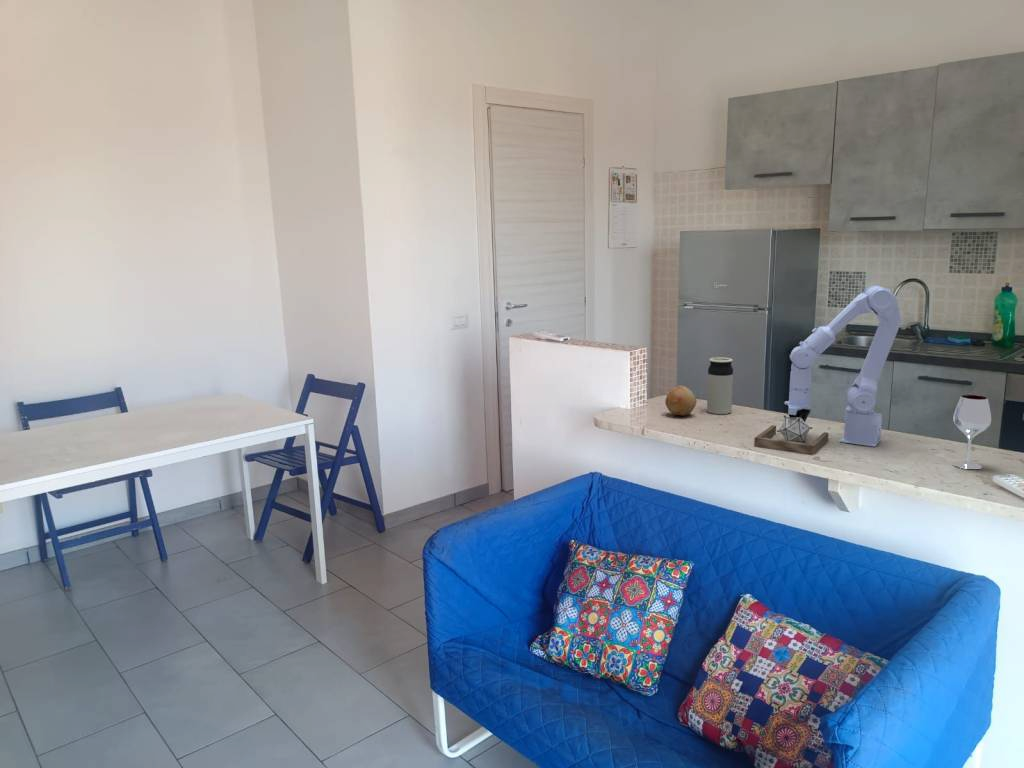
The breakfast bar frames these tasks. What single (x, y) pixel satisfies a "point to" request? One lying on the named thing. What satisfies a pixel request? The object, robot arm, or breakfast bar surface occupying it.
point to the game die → (794, 429)
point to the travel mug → (720, 386)
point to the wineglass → (971, 422)
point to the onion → (680, 401)
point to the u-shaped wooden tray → (788, 442)
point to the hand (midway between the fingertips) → (797, 434)
